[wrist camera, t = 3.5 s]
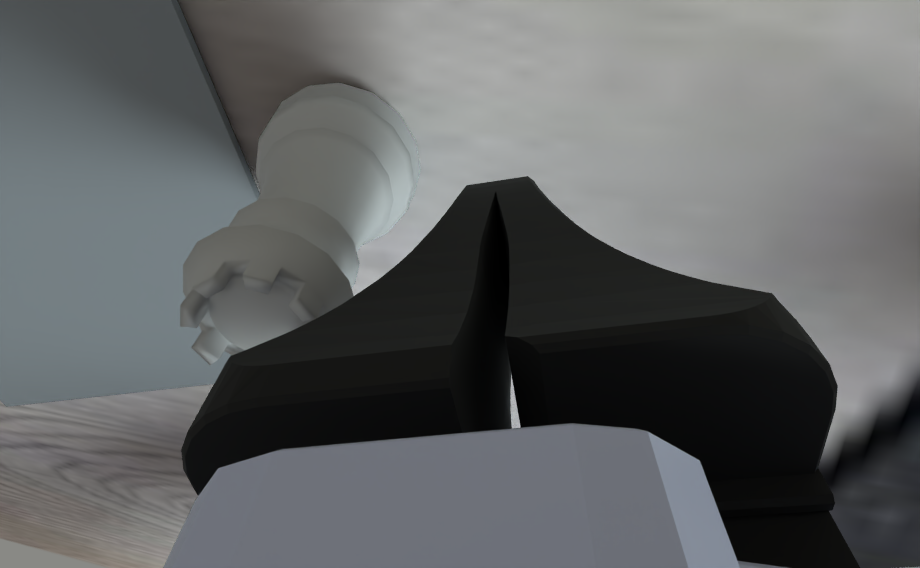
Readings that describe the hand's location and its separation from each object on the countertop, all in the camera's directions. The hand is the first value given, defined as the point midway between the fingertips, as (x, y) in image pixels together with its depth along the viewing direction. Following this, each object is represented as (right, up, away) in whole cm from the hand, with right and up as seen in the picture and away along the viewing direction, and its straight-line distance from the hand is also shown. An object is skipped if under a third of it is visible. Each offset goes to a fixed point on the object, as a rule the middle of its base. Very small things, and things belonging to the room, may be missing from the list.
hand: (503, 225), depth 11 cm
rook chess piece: (-4, +3, +5) cm, 7 cm away
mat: (-14, +1, +6) cm, 15 cm away
